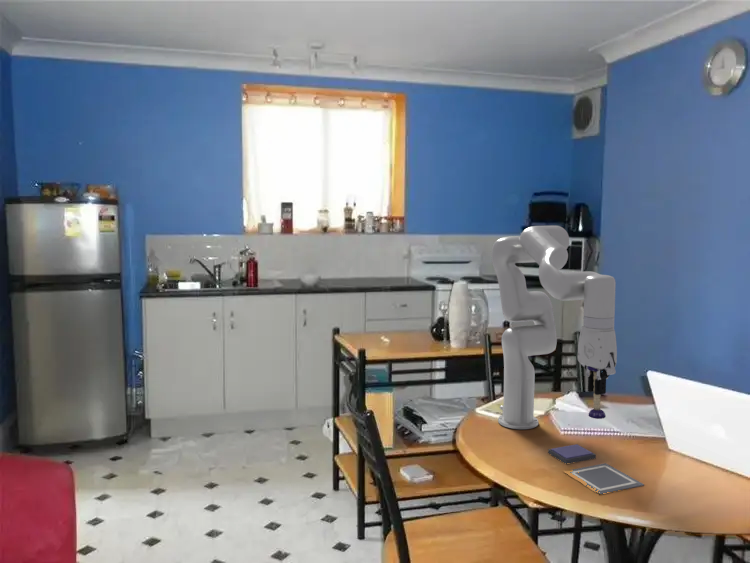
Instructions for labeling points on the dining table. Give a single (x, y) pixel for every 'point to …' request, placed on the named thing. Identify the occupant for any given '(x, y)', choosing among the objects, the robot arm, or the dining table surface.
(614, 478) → the marked board
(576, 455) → the ink pad
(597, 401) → the toy lamp
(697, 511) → the dining table surface
